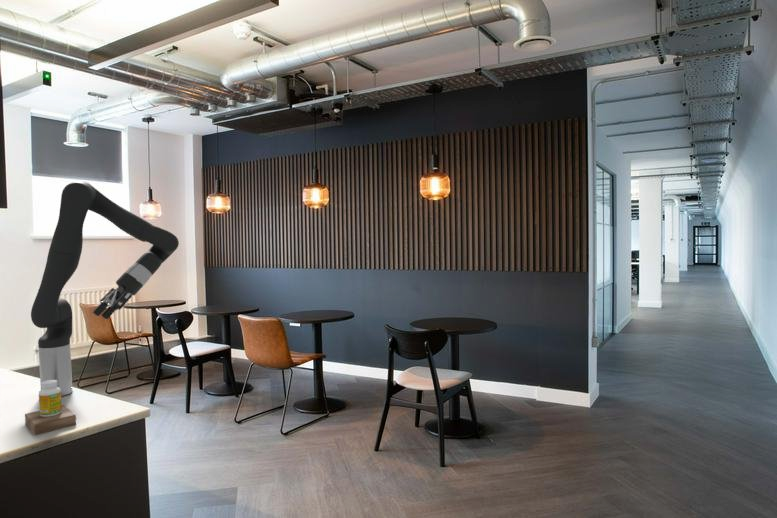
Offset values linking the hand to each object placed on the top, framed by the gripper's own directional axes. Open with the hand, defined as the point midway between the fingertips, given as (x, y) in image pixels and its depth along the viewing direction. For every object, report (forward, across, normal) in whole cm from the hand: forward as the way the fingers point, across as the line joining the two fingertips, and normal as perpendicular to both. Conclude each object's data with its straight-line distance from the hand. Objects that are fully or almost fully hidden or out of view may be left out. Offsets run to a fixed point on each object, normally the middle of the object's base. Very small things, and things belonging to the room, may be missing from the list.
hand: (99, 315), depth 168 cm
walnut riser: (+33, +11, +8) cm, 35 cm away
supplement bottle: (+30, +11, +6) cm, 33 cm away
